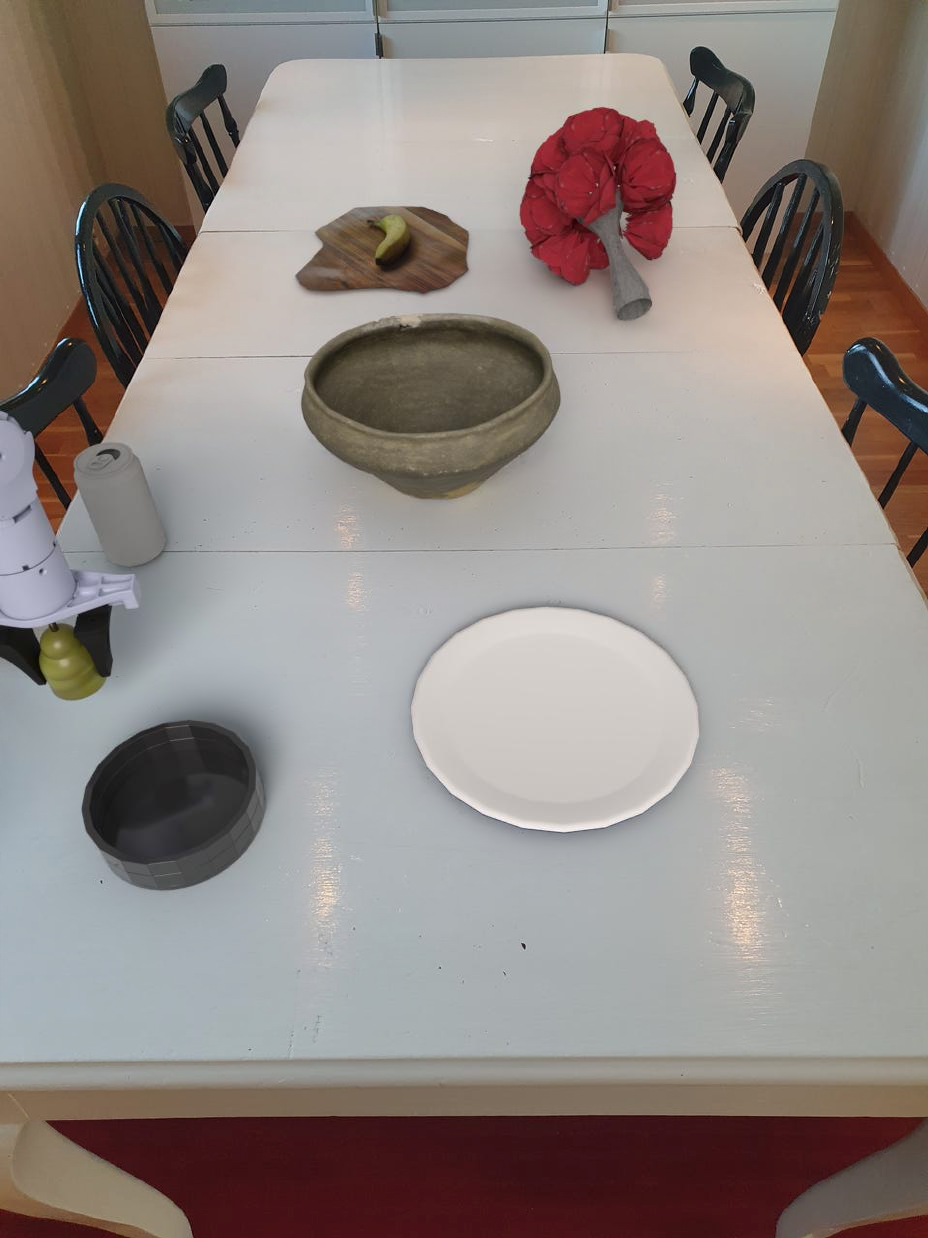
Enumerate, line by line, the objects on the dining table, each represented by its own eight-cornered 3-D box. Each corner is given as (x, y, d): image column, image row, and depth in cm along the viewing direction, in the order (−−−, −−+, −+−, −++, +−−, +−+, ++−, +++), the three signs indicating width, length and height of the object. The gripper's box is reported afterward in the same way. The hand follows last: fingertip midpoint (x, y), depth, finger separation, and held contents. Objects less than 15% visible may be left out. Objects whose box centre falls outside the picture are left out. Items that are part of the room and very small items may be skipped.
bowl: (603, 493, 102) (615, 382, 92) (385, 583, 92) (372, 469, 82) (473, 383, 119) (472, 279, 109) (278, 449, 109) (256, 341, 99)
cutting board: (468, 296, 136) (467, 271, 134) (288, 298, 137) (284, 273, 134) (471, 205, 161) (470, 183, 158) (318, 207, 162) (315, 185, 159)
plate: (497, 582, 92) (497, 572, 91) (737, 673, 83) (740, 663, 82) (355, 757, 77) (353, 749, 76) (628, 892, 68) (630, 884, 67)
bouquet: (688, 337, 140) (631, 177, 147) (738, 235, 117) (668, 52, 124) (553, 365, 138) (503, 202, 145) (578, 268, 115) (516, 79, 122)
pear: (67, 710, 74) (35, 648, 69) (42, 680, 77) (8, 618, 72) (117, 680, 77) (90, 618, 71) (91, 651, 79) (63, 590, 74)
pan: (152, 925, 67) (136, 898, 64) (68, 814, 73) (51, 786, 71) (297, 816, 73) (289, 788, 70) (207, 724, 80) (197, 694, 77)
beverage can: (179, 538, 98) (149, 444, 89) (146, 576, 94) (111, 482, 85) (129, 526, 99) (95, 434, 91) (94, 564, 95) (55, 470, 87)
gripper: (123, 505, 70) (167, 627, 79) (-73, 526, 68) (-4, 648, 78) (112, 565, 65) (161, 688, 75) (-100, 589, 64) (-22, 711, 73)
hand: (76, 672), depth 76 cm, fingers closed on pear, 4 cm apart
